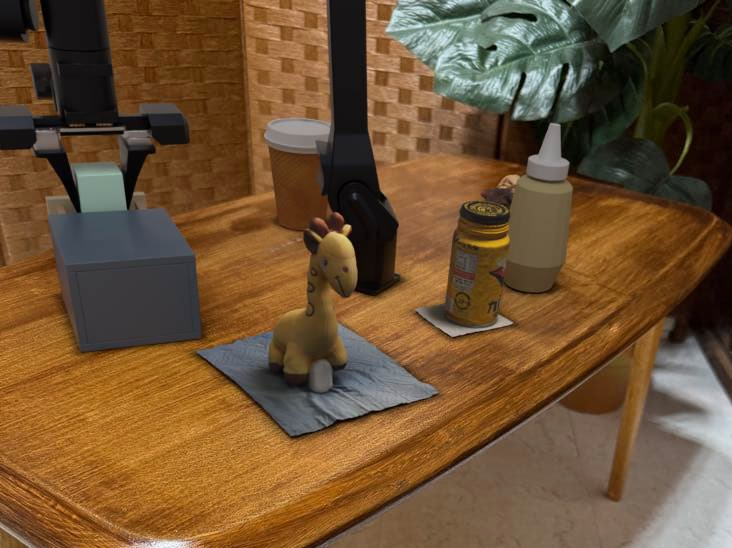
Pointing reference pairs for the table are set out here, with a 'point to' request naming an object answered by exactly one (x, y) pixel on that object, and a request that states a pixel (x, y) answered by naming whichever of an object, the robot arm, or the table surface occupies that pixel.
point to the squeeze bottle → (540, 219)
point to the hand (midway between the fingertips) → (102, 212)
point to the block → (99, 186)
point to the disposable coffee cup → (296, 170)
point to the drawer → (65, 206)
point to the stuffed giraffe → (318, 350)
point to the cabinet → (126, 278)
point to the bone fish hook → (502, 191)
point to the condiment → (474, 271)
